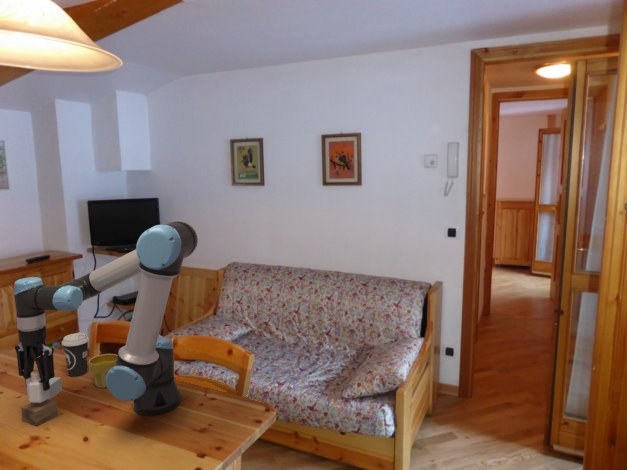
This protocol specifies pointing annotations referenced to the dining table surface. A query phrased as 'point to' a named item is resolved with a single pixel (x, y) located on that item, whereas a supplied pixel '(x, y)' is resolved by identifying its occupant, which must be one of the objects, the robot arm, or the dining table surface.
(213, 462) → the dining table surface
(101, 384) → the plant pot
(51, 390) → the grey-blue block
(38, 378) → the pepper shaker
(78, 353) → the coffee cup
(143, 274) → the robot arm
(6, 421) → the dining table surface
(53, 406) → the walnut block
